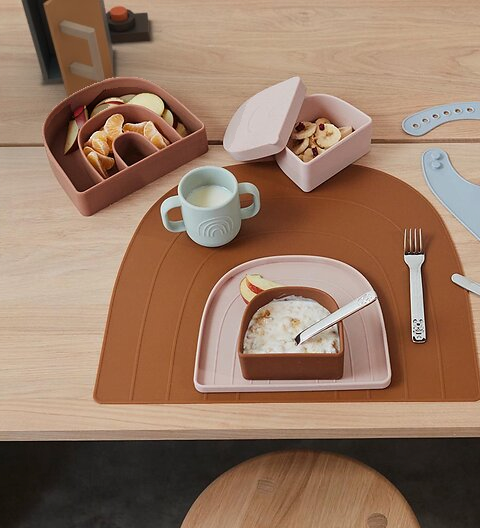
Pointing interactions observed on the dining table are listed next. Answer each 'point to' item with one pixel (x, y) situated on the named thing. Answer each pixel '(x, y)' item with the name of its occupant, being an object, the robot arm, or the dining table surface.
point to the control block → (129, 28)
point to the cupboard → (43, 38)
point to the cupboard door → (79, 42)
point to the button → (118, 14)
